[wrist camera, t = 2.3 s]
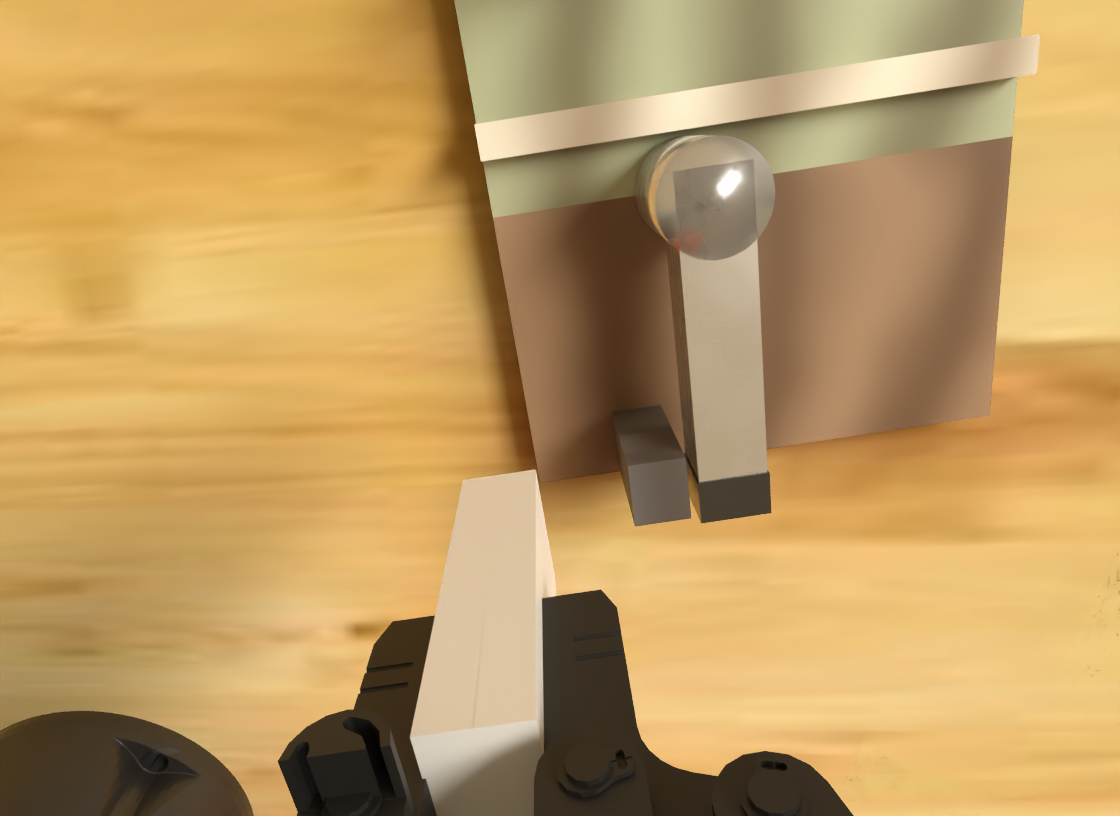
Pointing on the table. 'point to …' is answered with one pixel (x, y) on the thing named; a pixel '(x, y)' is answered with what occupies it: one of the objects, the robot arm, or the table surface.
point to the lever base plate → (793, 229)
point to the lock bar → (715, 310)
